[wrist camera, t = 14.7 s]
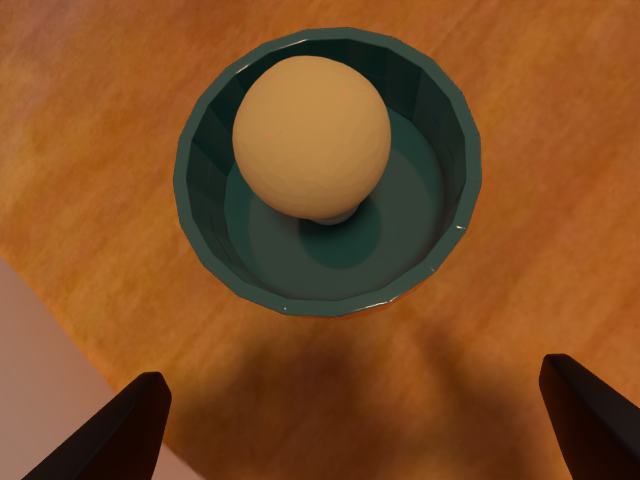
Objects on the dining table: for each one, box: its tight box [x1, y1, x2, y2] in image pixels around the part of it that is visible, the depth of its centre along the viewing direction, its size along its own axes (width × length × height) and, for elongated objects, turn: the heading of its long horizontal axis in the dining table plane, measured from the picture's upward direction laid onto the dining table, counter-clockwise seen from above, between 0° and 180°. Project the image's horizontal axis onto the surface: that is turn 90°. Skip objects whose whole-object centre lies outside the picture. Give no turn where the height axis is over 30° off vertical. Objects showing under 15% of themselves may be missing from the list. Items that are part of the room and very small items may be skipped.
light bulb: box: [232, 56, 391, 225], centre depth 18 cm, size 6×6×10 cm
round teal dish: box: [173, 27, 482, 320], centre depth 21 cm, size 14×14×6 cm
